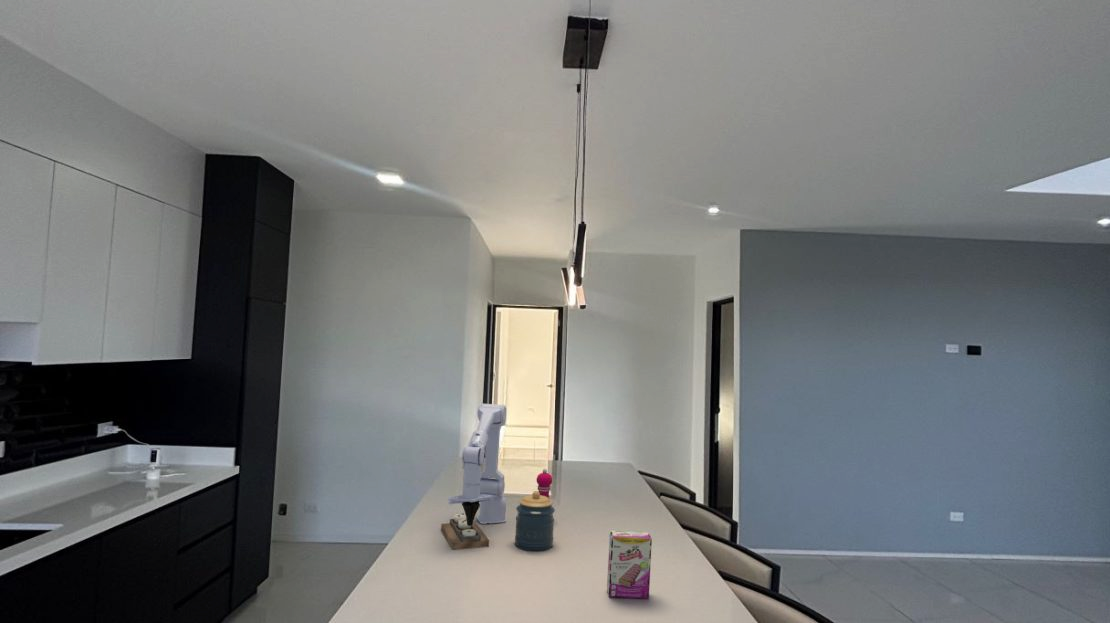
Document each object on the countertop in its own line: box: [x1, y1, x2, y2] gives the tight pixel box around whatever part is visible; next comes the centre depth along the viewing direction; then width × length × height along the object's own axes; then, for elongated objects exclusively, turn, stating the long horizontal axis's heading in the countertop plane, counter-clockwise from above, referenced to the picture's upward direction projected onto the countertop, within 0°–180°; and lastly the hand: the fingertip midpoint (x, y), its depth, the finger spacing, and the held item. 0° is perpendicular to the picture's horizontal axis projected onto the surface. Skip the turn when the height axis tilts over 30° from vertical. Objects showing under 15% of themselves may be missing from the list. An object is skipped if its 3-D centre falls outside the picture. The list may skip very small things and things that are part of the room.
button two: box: [453, 512, 466, 523], centre depth 201 cm, size 4×4×2 cm
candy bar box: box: [606, 530, 653, 600], centre depth 156 cm, size 11×5×16 cm, turn 92°
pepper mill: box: [536, 468, 553, 507], centre depth 216 cm, size 7×7×20 cm
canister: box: [514, 490, 556, 552], centre depth 192 cm, size 13×13×18 cm
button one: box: [462, 529, 476, 537], centre depth 189 cm, size 4×4×2 cm
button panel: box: [440, 518, 490, 550], centre depth 195 cm, size 12×20×4 cm, turn 22°
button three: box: [458, 519, 471, 529], centre depth 195 cm, size 4×4×2 cm
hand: (469, 524), depth 189 cm, fingers closed
